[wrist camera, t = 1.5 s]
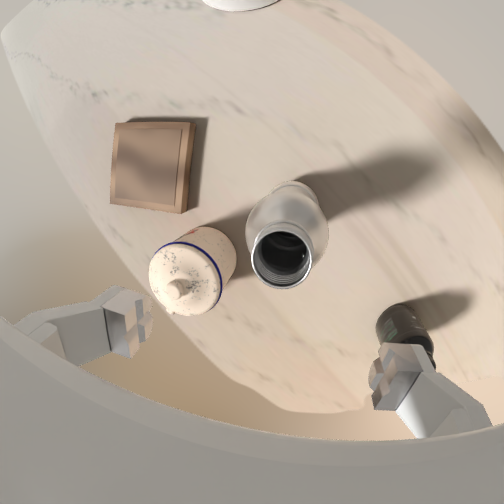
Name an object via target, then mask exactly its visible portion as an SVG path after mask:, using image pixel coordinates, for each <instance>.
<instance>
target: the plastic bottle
mask: <svg viewBox="0 0 504 504" xmlns="http://www.w3.org/2000/svg"><path fill="white" fill-rule="evenodd" d="M245 237H246V243H247V246H248V250H249V252H250V254H251V263H252V267H253V270H254V272H255V274H256V275H257V277H258V278H259V279H260V280H261V281H262V282H263V283H264V284H266V285H268V286H270V287H273V288H276V289H288V288H292V287H295V286H297V285H299V284H300V283H302V282H303V281H304V280H305V279H306V277H307V276H308V274H309V272H310V270H311V269H312V268H313V267H314V266H315V265H316V264H317V263H318V262H319V261H320V259H321V258H322V256H323V254H324V253H325V250H326V248H327V244H328V239H329V229H328V224H327V220H326V218H325V215H324V213H323V212H322V210H321V209H320V207H319V202H318V199H317V197H316V195H315V193H314V192H313V190H312V189H311V188H309V187H308V186H307V185H305V184H303V183H301V182H297V181H286V182H283V183H281V184H279V185H277V186H276V187H274V188H273V189H272V190H271V192H270V193H269V195H268V196H266V197H264V198H263V199H262V200H260V201H259V202H258V203H257V204H256V205H255V207H254V208H253V209H252V211H251V212H250V214H249V216H248V219H247V223H246V229H245Z"/></svg>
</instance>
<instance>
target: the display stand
mask: <svg viewBox="0 0 504 504" xmlns="http://www.w3.org/2000/svg"><path fill="white" fill-rule="evenodd" d="M195 128H196V124H194V123H191V122H127V123H116V124H115V132H114V142H113V153H112V166H111V185H110V204H116V205H123V206H130V207H137V208H144V209H151V210H157V211H164V212H171V213H177V214H182V213H184V212H186V211H187V201H188V190H189V179H190V169H191V160H192V152H193V143H194V135H195Z"/></svg>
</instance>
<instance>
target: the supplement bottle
mask: <svg viewBox="0 0 504 504" xmlns="http://www.w3.org/2000/svg"><path fill="white" fill-rule="evenodd" d="M376 333H377V336H378V340H379V342H380V345H382V344H383V343H384V342H387V343H399V344H418V345H421V346H423V348H424V350H425V351H426V353H427V355H428V357H429V359H430V361H431V363H432V365H433V367H434V369H436V364H435V362H434V360H433V357H432V356H433V352H434V345H433V342H432V340H431V338H430V336H429V334H428V333H427V331H426V329H425V328H424V326H423V324H422V323H421V321H420V319H419V318H418V316H417V315H416V313H415V312H414V310H413V309H412V308H411V307H409V306H406V305H395V306H392V307H390V308H388V309H387V310H385V311H384V312H383V313H382V314H381V316H380V317H379V319H378V321H377V324H376Z"/></svg>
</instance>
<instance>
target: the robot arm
mask: <svg viewBox="0 0 504 504" xmlns="http://www.w3.org/2000/svg"><path fill="white" fill-rule="evenodd" d="M202 1H203V2H205V3H206V4H207V5H209V6H211V7H213V8H216V9H220V10H225V11H247V10H253V9H258V8H261V7H265V6H267V5H270V4H272V3H274V2H276V1H278V0H202ZM151 307H152V298H151V297H150V296H149V295H146V294H143V293H140V292H137V291H134V290H130V289H127V288H124V287H121V286H118V285H113V286H111V287H110V288H108V289H107V290H106V291H104V292H103V293H101V294H100V295H99V296H98V297H96V298H95V299H93V300H92V301H90V302H81V303H77V304H71V305H66V306H61V307H56V308H51V309H46V310H40V311H35V312H32V313H31V314H29V315H28V316H26V317H25V318H23V319H22V320H21V321H19V322H18V323H16V324H15V325H11V324H10V323H9V322H8V321H6V320H5V319H4V318H2V317H1V316H0V504H504V423H503V424H499V425H495V426H493V425H492V423H491V421H490V419H489V417H488V415H487V413H486V411H485V409H484V407H483V405H482V404H481V403H479V402H478V401H477V400H475V399H474V398H473V397H472V396H470V395H469V394H468V393H466V392H465V391H463V390H462V389H461V388H459V387H458V386H457V385H456V384H454V383H453V382H451V381H450V380H449V379H447V378H446V377H445V376H443V375H442V374H441V373H436V371H435V369H434V367H433V365H432V363H431V361H430V359H429V357H428V355H427V353H426V351H425V350H424V348H423V346H421V345H418V344H399V343H387V342H384V343H383V344H382V345H381V347H380V349H379V351H378V353H379V356H380V357H379V358H378V359H376V360H375V361H373V364H372V366H371V368H370V372H369V386H370V388H371V389H372V390H373V391H374V392H373V394H372V401H373V406H374V410H390V411H396V413H397V414H398V416H399V417H400V418H401V419H402V420H403V422H404V423H405V424H406V425H407V427H408V428H409V429H410V430H411V431H412V433H413V434H414V435H415V436H416V438H417V439H408V440H390V441H389V440H388V441H354V440H333V439H320V438H310V437H301V436H293V435H286V434H279V433H273V432H267V431H262V430H256V429H251V428H246V427H242V426H237V425H233V424H228V423H224V422H220V421H216V420H212V419H209V418H205V417H202V416H198V415H195V414H192V413H188V412H185V411H182V410H179V409H176V408H173V407H170V406H167V405H164V404H161V403H158V402H156V401H153V400H151V399H148V398H145V397H143V396H140V395H138V394H135V393H133V392H130V391H128V390H126V389H123V388H121V387H119V386H117V385H114V384H112V383H110V382H108V381H106V380H104V379H102V378H100V377H98V376H95V375H94V374H92V373H90V372H88V371H86V370H84V369H82V368H80V367H78V366H81V365H83V364H85V363H88V362H90V361H92V360H94V359H97V358H99V357H102V356H104V355H106V354H108V353H110V352H114V353H117V354H119V355H122V356H124V357H127V358H130V359H131V358H132V356H133V355H134V354H135V353H136V352H137V351H138V349H139V348H140V346H139V343H141V342H143V341H146V340H147V339H148V337H149V336H150V333H151V331H152V327H153V317H152V315H151V314H150V312H149V310H150V309H151Z"/></svg>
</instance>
